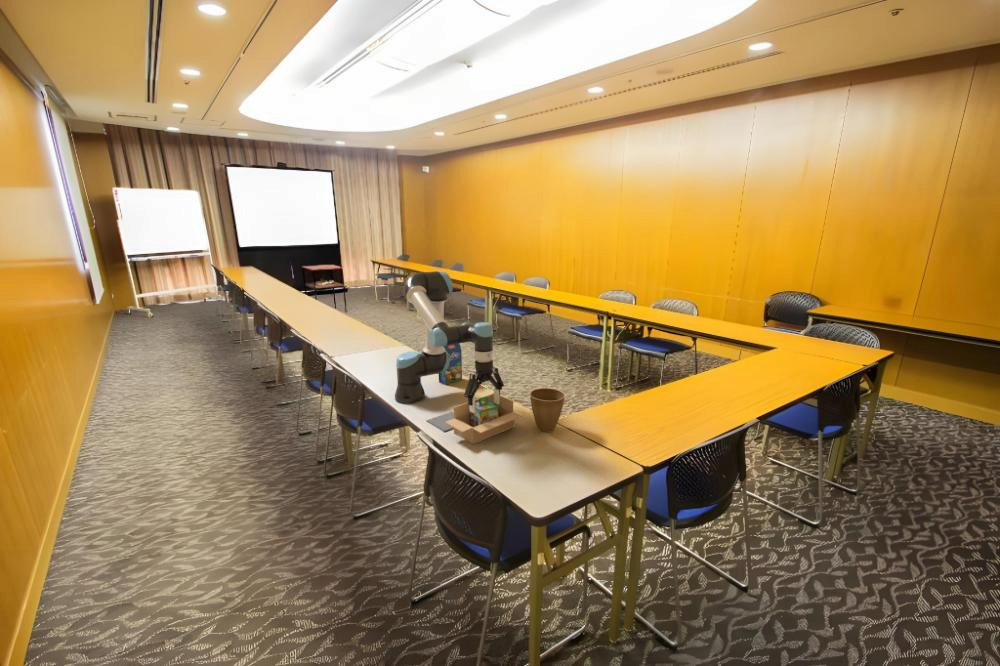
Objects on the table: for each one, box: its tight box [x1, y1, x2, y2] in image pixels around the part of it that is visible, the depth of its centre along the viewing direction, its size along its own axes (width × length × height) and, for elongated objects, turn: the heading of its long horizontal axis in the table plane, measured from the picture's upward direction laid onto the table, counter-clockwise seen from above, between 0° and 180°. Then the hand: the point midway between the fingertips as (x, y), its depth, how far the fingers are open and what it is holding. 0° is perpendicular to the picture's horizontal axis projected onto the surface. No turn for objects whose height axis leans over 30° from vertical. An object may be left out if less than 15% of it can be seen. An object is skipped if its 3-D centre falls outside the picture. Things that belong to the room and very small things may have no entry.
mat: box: [426, 411, 454, 433], centre depth 196 cm, size 14×14×1 cm
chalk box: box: [471, 395, 498, 427], centre depth 187 cm, size 9×9×15 cm
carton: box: [445, 392, 523, 445], centre depth 184 cm, size 18×28×12 cm, turn 132°
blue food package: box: [438, 343, 463, 385], centre depth 244 cm, size 6×12×25 cm, turn 134°
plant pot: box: [529, 387, 566, 433], centre depth 188 cm, size 15×15×16 cm
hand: (484, 407), depth 186 cm, fingers open, 13 cm apart
